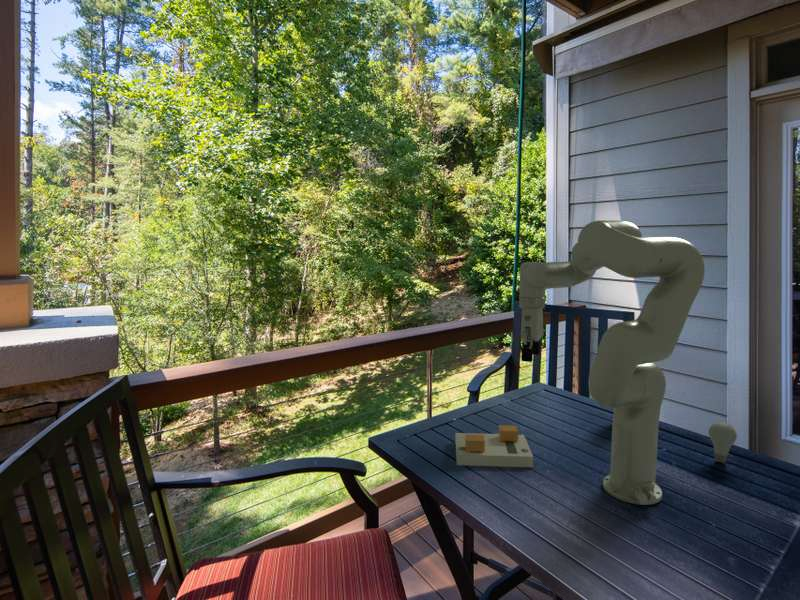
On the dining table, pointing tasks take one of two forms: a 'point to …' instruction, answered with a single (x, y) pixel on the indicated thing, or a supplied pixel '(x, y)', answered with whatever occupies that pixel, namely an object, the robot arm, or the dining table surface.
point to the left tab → (475, 443)
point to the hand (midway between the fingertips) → (530, 357)
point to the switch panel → (494, 452)
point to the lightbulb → (722, 439)
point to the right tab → (508, 433)
